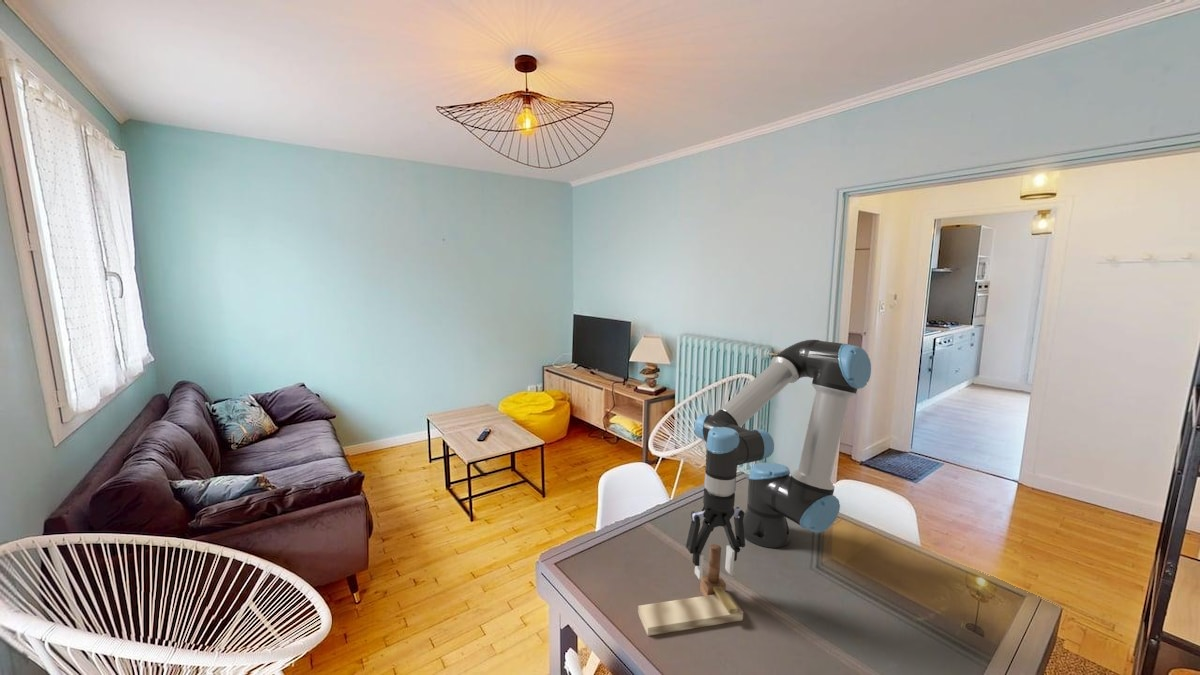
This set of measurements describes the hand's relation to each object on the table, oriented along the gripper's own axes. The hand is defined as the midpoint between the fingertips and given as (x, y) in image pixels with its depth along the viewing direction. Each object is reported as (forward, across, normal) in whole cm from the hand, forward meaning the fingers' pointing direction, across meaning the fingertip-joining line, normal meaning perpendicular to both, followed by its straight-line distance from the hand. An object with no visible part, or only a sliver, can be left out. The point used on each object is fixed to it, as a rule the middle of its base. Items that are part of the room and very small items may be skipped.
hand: (713, 573), depth 113 cm
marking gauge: (+6, 0, +4) cm, 7 cm away
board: (+6, +9, +6) cm, 12 cm away
